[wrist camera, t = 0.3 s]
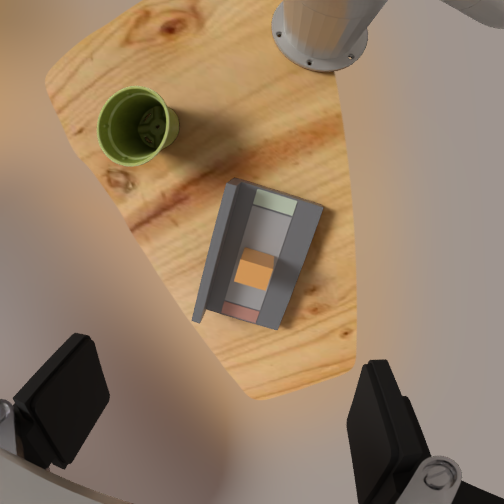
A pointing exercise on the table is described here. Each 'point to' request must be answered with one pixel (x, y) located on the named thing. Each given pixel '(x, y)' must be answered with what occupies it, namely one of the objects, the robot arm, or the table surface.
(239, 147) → the table surface
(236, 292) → the switch panel
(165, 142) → the plant pot
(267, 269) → the handle
